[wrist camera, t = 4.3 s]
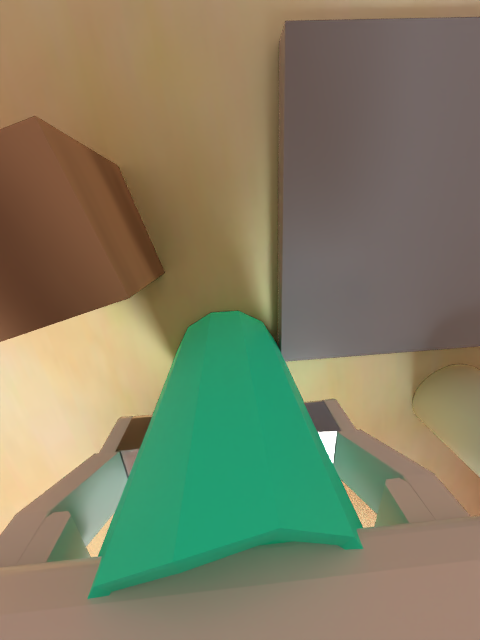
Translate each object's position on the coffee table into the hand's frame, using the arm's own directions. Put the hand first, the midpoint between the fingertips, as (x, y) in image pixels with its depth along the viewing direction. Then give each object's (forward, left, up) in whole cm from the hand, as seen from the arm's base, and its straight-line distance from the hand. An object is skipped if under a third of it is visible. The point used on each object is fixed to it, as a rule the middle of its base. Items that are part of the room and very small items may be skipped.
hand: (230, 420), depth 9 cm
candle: (0, 0, -5) cm, 5 cm away
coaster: (-10, -7, -5) cm, 13 cm away
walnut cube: (+6, -7, -5) cm, 11 cm away
